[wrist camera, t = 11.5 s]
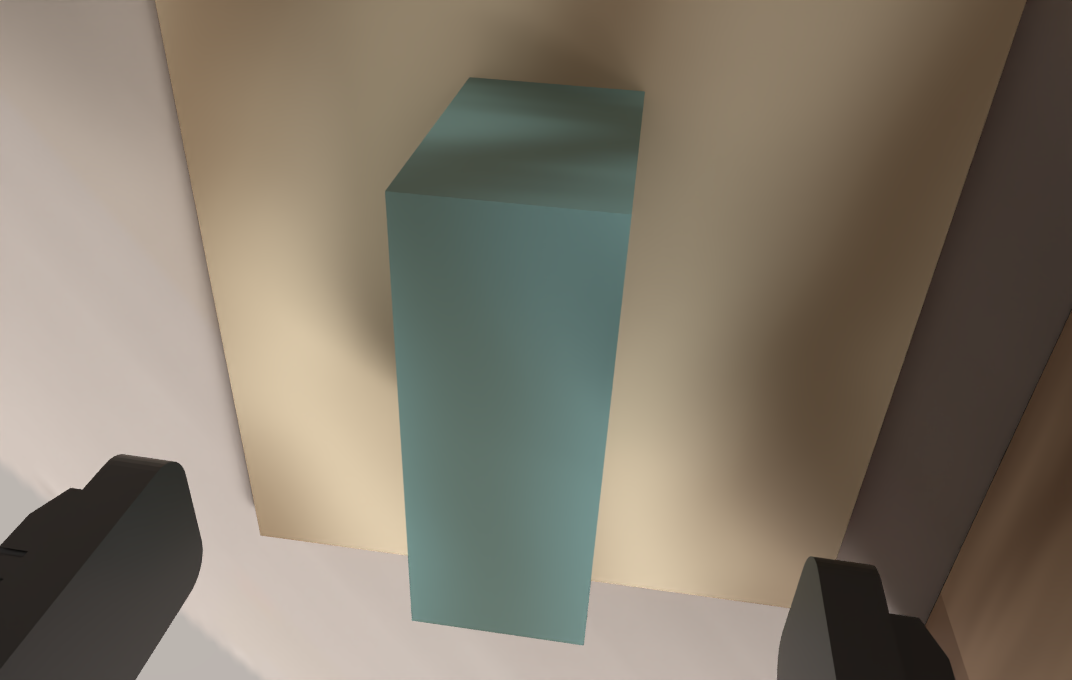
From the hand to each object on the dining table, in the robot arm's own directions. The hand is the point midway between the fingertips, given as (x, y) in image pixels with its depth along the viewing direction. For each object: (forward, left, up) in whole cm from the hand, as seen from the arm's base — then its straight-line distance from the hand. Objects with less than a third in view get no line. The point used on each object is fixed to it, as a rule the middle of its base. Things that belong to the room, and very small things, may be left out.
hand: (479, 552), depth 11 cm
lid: (0, 0, -8) cm, 8 cm away
